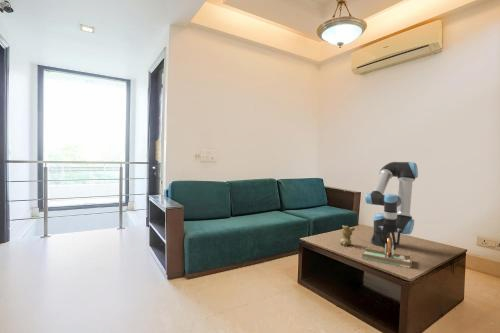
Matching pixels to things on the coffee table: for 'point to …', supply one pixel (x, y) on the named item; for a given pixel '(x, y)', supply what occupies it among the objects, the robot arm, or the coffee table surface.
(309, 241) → the coffee table surface
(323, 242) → the coffee table surface
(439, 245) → the coffee table surface
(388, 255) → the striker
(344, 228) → the figurine
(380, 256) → the pitch
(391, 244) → the robot arm
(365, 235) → the coffee table surface
